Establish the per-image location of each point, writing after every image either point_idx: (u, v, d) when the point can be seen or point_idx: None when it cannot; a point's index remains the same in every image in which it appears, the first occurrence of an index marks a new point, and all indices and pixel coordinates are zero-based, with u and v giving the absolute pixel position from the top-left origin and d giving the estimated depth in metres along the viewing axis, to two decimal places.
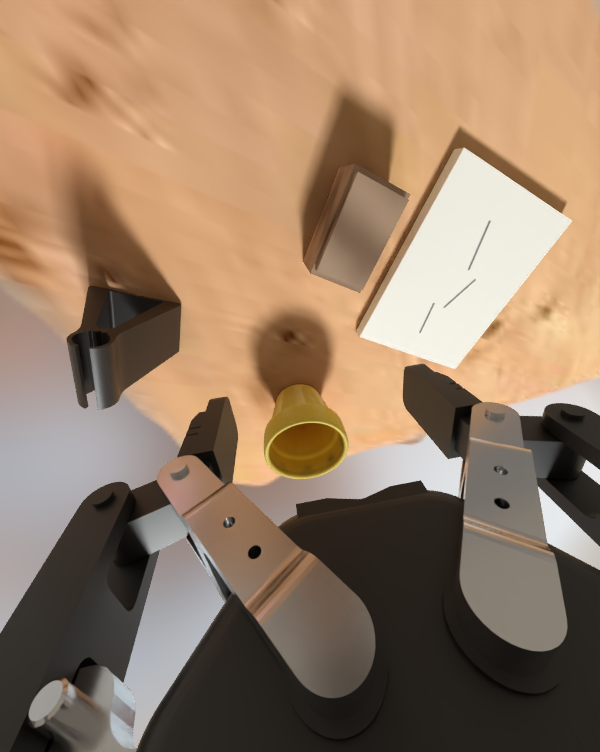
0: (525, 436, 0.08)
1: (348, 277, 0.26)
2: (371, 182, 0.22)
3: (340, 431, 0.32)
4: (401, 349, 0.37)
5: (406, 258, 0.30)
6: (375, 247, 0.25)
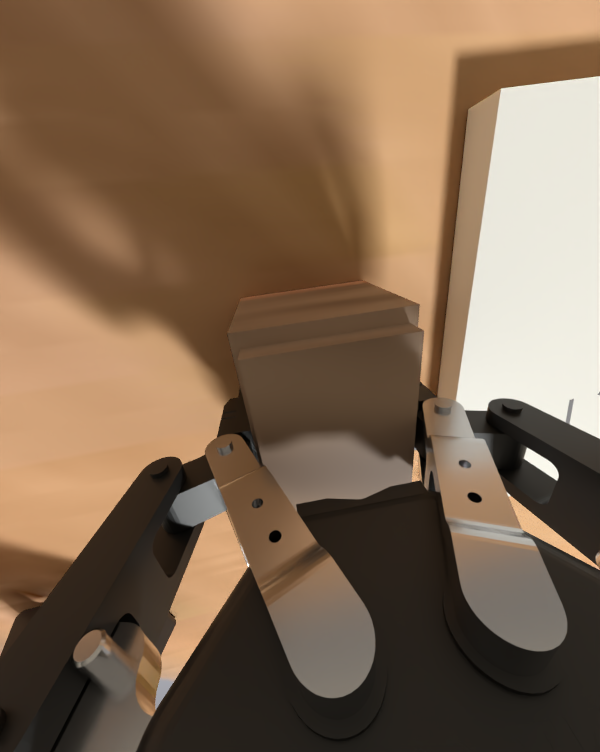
0: None
1: None
2: (291, 358, 0.07)
3: None
4: None
5: (468, 368, 0.13)
6: (391, 455, 0.09)
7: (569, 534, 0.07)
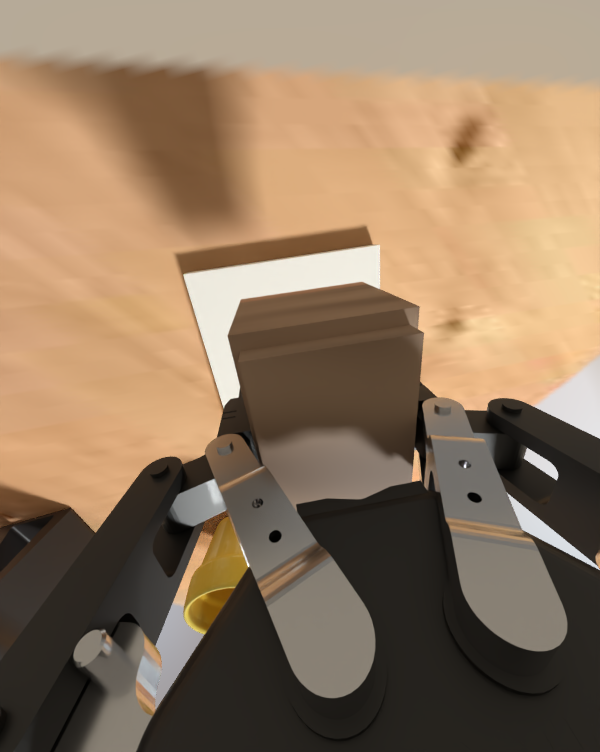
0: None
1: None
2: (291, 361, 0.07)
3: None
4: None
5: (220, 383, 0.27)
6: (391, 457, 0.09)
7: (569, 534, 0.07)
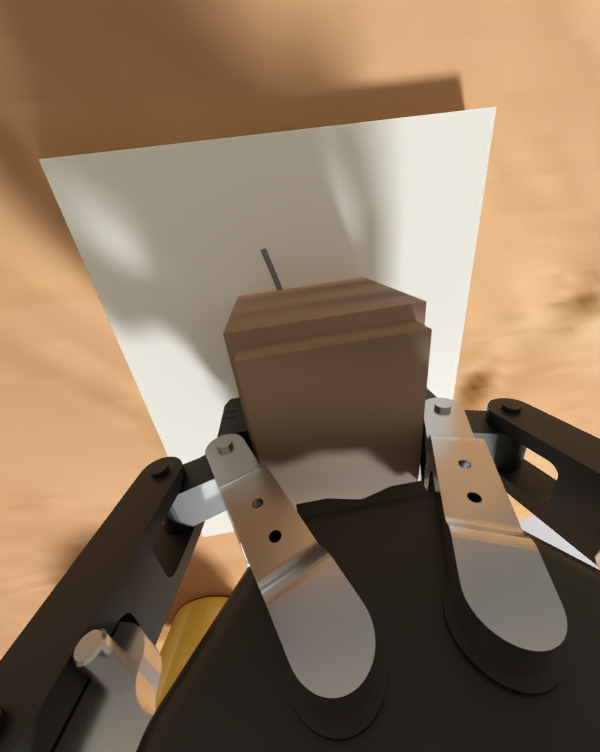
0: None
1: None
2: (291, 360, 0.07)
3: None
4: None
5: (155, 408, 0.14)
6: (396, 460, 0.09)
7: (569, 534, 0.07)
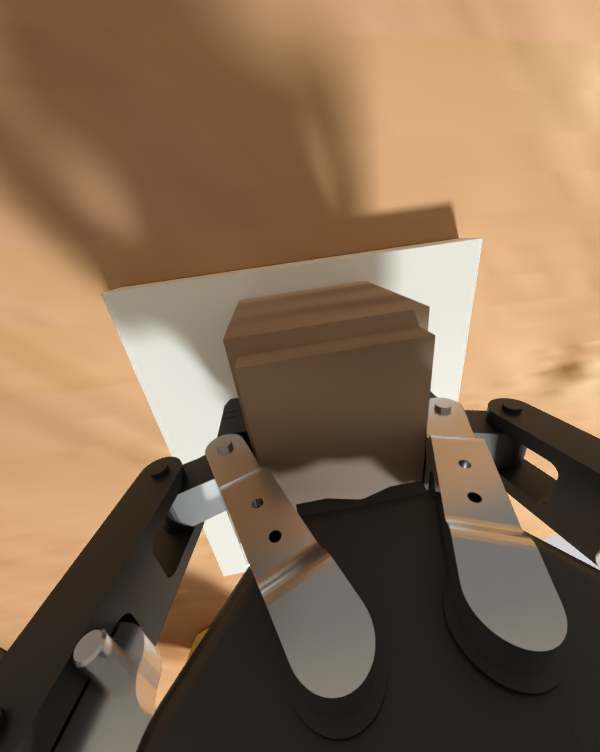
0: None
1: None
2: (292, 367, 0.07)
3: None
4: None
5: None
6: (399, 467, 0.09)
7: (569, 534, 0.07)
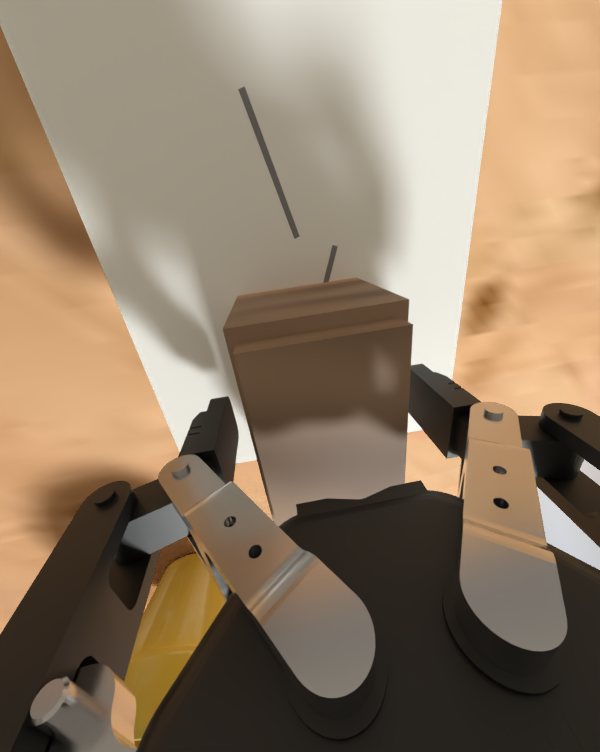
0: (523, 436, 0.08)
1: None
2: (284, 352, 0.08)
3: None
4: None
5: (126, 303, 0.12)
6: (384, 447, 0.10)
7: None
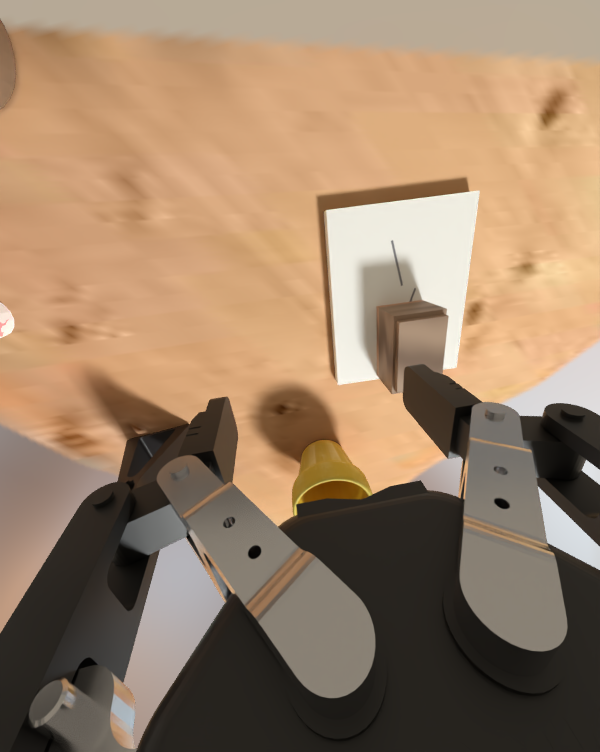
0: (525, 436, 0.08)
1: None
2: (412, 322, 0.28)
3: (351, 481, 0.33)
4: None
5: (336, 308, 0.33)
6: (437, 356, 0.30)
7: None
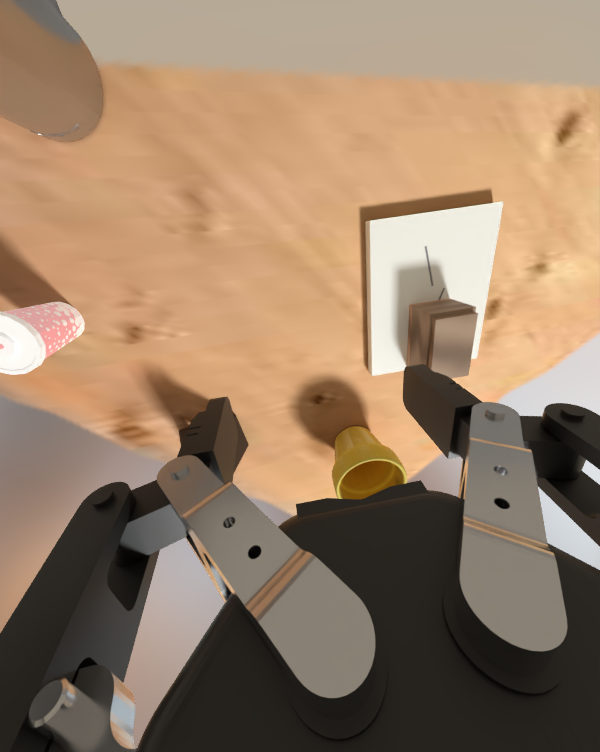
0: (525, 436, 0.08)
1: (454, 374, 0.35)
2: (447, 319, 0.32)
3: (389, 460, 0.38)
4: None
5: (373, 307, 0.36)
6: (466, 348, 0.34)
7: None
